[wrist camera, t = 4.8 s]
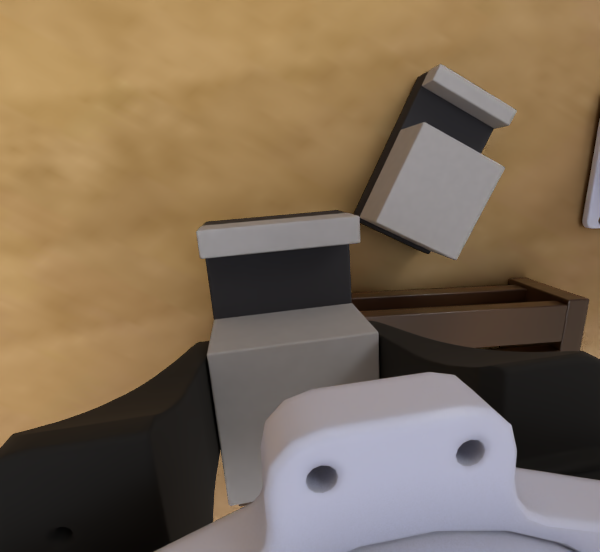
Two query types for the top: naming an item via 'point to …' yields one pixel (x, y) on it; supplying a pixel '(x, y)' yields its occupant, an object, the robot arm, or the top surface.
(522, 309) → the slatted wooden tray
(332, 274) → the slipper
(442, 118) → the slipper
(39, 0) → the top surface
